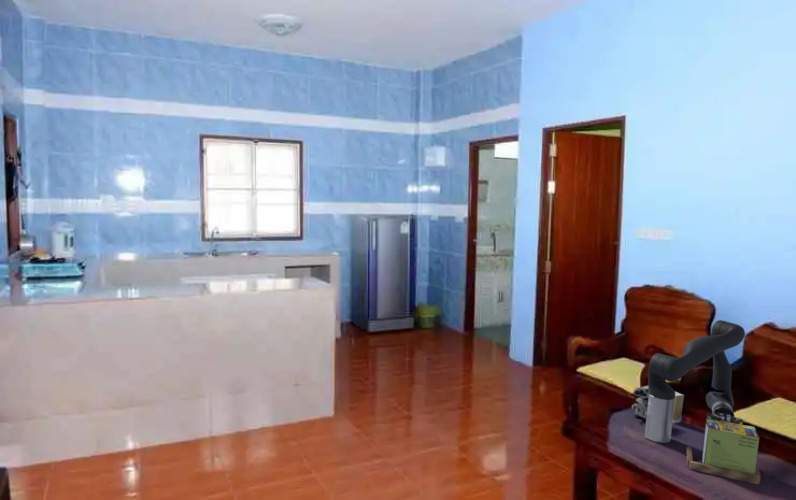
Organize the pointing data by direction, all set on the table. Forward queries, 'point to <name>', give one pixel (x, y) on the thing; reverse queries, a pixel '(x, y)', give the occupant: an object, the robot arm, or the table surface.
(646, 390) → the figurine
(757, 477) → the display bay
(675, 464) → the table surface
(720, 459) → the protein box
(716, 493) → the table surface
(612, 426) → the table surface
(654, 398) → the robot arm
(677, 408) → the skincare box
